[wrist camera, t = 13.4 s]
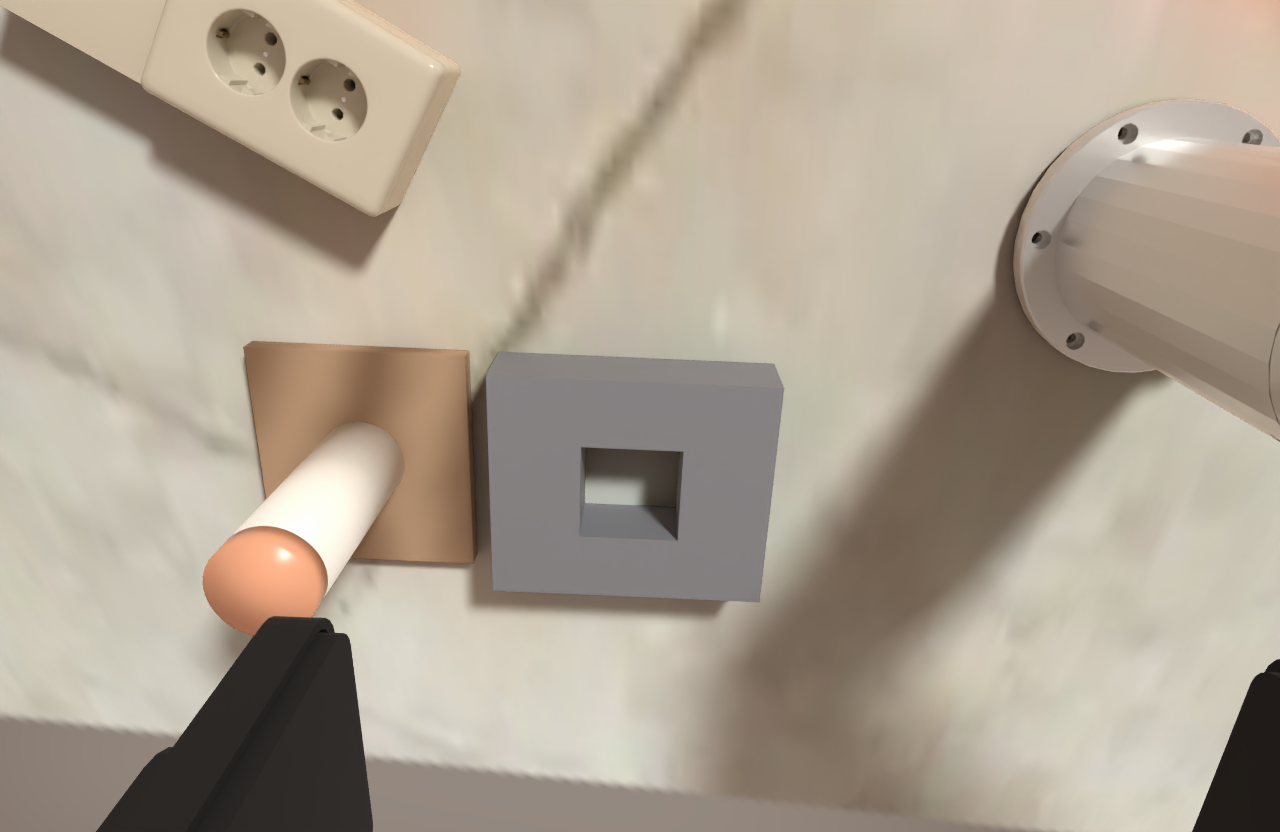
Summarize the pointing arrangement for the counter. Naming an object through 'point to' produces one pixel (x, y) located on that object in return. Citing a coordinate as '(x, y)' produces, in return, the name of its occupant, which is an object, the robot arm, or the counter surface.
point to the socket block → (642, 420)
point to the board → (392, 400)
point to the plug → (305, 529)
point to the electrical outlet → (277, 80)
